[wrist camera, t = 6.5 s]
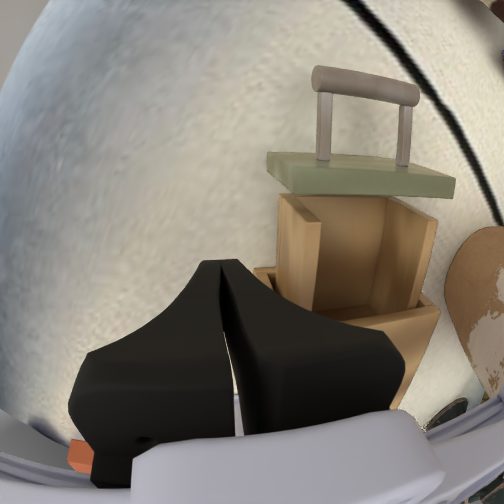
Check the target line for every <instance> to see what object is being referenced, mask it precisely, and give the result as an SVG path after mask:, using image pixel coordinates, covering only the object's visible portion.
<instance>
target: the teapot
mask: <svg viewBox="0 0 504 504" xmlns="http://www.w3.org/2000/svg"><path fill="white" fill-rule="evenodd" d="M488 400H489V396H488V395H487V393H486V391H485V393H484V396H483V398H482V401H481V404H482V403H484V402H486V401H488ZM467 405H468V401H467V399H466V398H462V399H459V400H457V401H455V402H453V403H452V404H450V405H449V406H447V407H446V408H445V409H443V410H442V411H441V412H440V413H439V414H438V415H437V416H436V417H434V418H433V420H432V421H431V422H430V423H429V425H428V426H427V429H426V431H428V430H430V429H433V428H435V427H437V426H439V425H441V424H444V423H446V422H448V421H450V420H452V419H454V418H456V417H458V416H460V415H462V414H464V413H465V412H466V409H467ZM503 476H504V471H503V472H502V473H501V474H500V475H498V477H497V478H496V479H495V480H493V481H492V482H491V483H489V484H488V485H487V486H484V487H483V488H481V489H480V490H479V491H477V492H476V493H474V494H473V495H472V496H470V497H469V498H467V499H466V500H464V501H463V502H461V503H460V504H462V503H463V504H464V503H471V502H474V501H477V500H479V499H480V500H481V502H482V503H483V504H504V479H503Z"/></svg>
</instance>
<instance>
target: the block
mask: <svg viewBox="0 0 504 504" xmlns="http://www.w3.org/2000/svg"><path fill="white" fill-rule="evenodd" d="M93 457H94V451H93V450H92V449H91V447H90V446H89V445H88V443H87V442H86V441H79V440H72V441H71V445H70V449H69V454H68V459H67V462H68V463H69V464H70V465H71V466H72V467H73V468H74V469H75V470H76V471H77V472H81V473H87V474H91V469H92V462H93Z"/></svg>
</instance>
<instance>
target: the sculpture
mask: <svg viewBox="0 0 504 504" xmlns="http://www.w3.org/2000/svg"><path fill="white" fill-rule="evenodd" d="M480 1H482V2H483V3H484V4H485V5H486V6H487V7H488V8H489V9H490V10H491V11H492V12H493V13H494V14H495V15H496V16H497V17H498V18H499V19H500V20H501V21H502V22H504V0H480Z"/></svg>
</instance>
